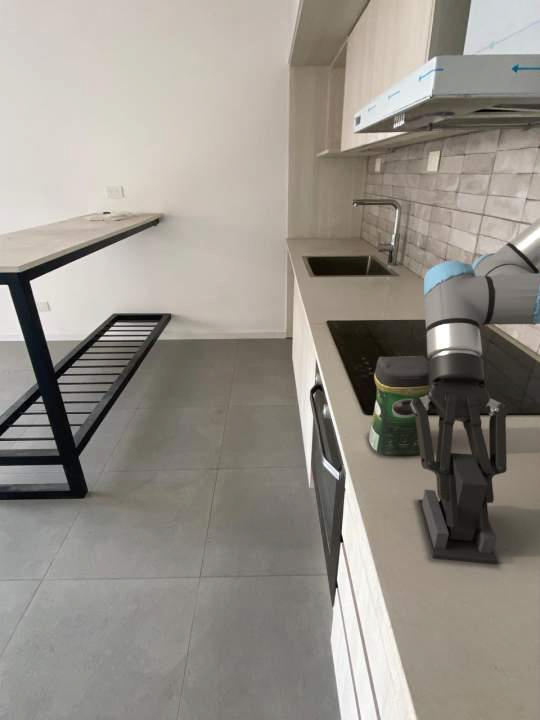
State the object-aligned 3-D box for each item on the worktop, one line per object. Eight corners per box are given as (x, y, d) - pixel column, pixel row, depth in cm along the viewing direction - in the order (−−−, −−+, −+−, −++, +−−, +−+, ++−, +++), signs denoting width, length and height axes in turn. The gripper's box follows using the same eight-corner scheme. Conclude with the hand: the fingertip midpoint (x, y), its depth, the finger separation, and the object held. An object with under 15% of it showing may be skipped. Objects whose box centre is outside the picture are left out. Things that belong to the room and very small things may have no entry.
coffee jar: (412, 432, 80) (425, 348, 72) (426, 458, 72) (442, 367, 64) (364, 433, 80) (372, 349, 72) (373, 459, 73) (383, 369, 65)
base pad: (470, 509, 61) (476, 488, 60) (494, 566, 52) (502, 544, 51) (417, 504, 62) (421, 484, 61) (432, 560, 54) (436, 538, 52)
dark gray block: (459, 507, 59) (472, 454, 55) (472, 541, 54) (488, 485, 49) (438, 505, 59) (450, 452, 55) (449, 539, 54) (462, 483, 50)
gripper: (500, 369, 62) (519, 531, 54) (394, 365, 64) (398, 521, 56) (523, 352, 55) (549, 536, 47) (404, 348, 57) (410, 524, 49)
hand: (467, 527), depth 52 cm, fingers closed on dark gray block, 3 cm apart
